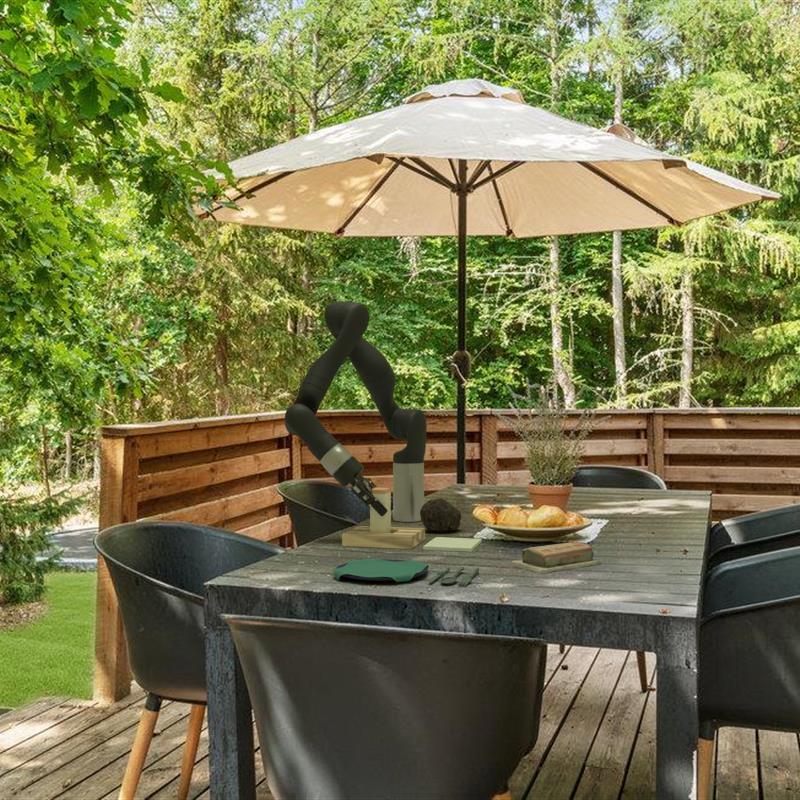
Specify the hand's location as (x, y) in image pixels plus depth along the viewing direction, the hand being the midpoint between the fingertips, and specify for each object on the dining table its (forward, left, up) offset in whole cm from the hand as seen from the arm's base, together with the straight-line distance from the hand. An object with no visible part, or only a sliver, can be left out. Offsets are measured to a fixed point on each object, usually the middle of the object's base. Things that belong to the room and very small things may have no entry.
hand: (387, 512), depth 236 cm
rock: (-21, +9, -8) cm, 25 cm away
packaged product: (+19, +45, -9) cm, 49 cm away
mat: (0, +17, -8) cm, 19 cm away
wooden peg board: (0, -1, -8) cm, 8 cm away
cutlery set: (+39, +15, -9) cm, 42 cm away
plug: (0, -2, -6) cm, 6 cm away
